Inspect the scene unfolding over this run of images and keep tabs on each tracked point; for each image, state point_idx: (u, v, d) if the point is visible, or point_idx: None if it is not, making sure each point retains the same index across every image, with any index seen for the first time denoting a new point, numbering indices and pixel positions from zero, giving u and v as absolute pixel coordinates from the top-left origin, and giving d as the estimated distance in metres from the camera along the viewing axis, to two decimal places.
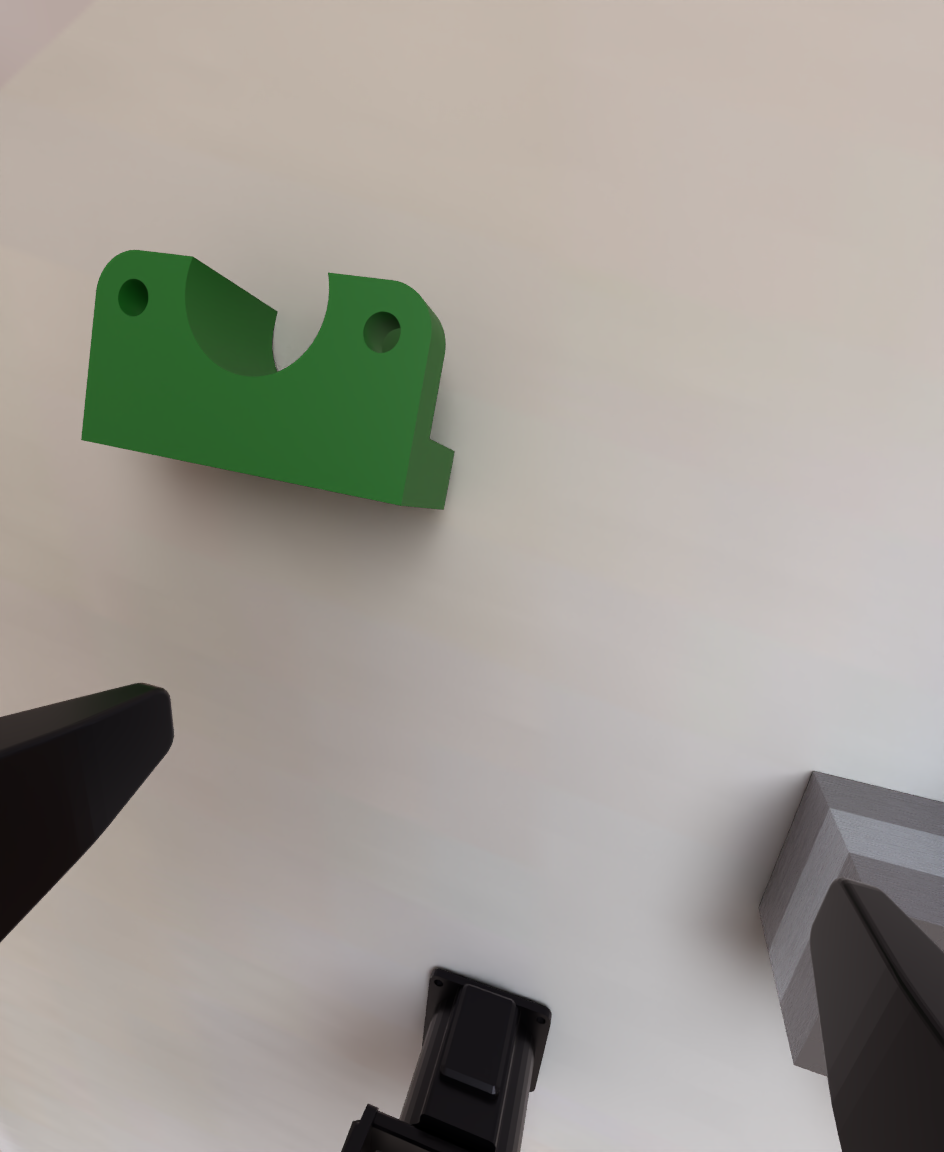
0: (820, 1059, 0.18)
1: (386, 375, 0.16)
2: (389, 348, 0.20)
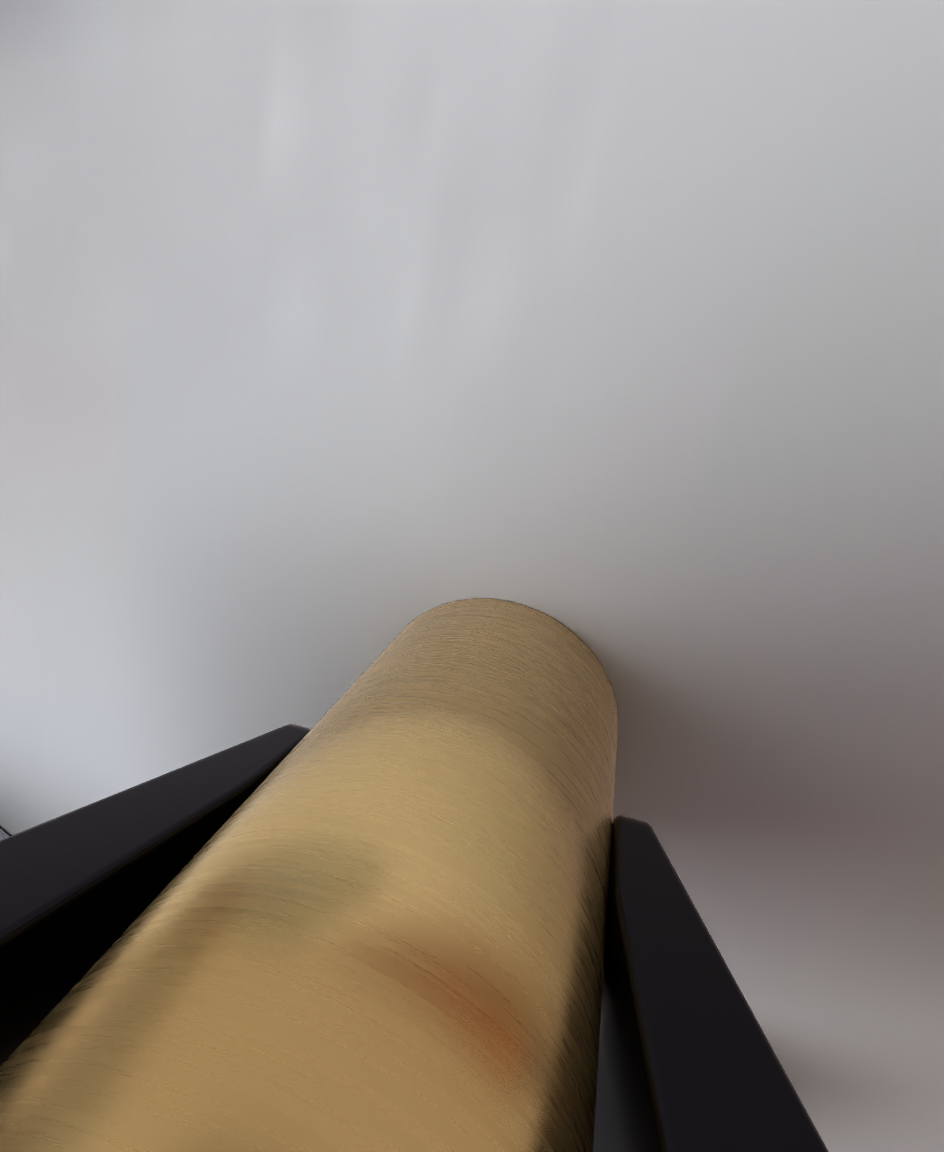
0: None
1: None
2: None
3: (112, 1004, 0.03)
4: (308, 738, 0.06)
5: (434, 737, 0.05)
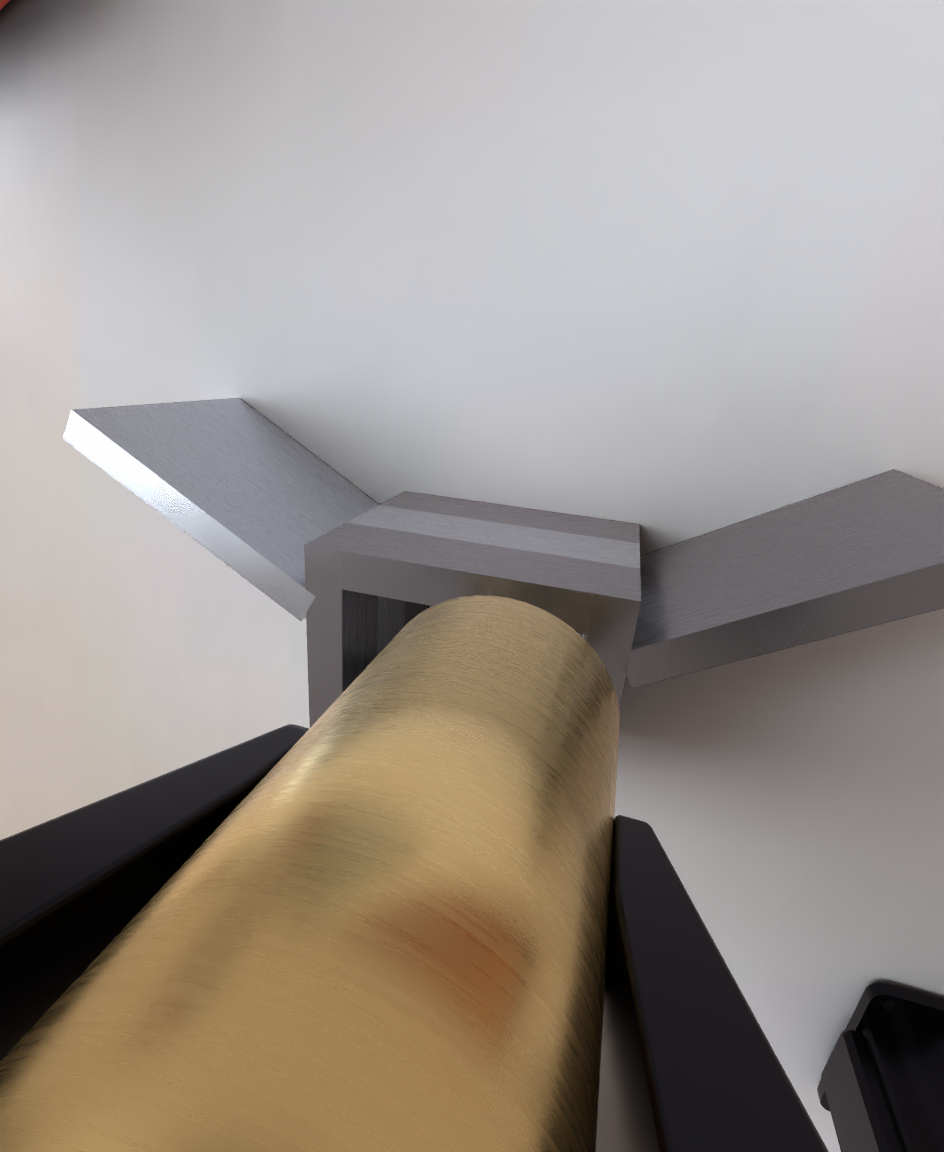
0: None
1: None
2: None
3: (112, 999, 0.03)
4: (309, 734, 0.06)
5: (436, 733, 0.05)
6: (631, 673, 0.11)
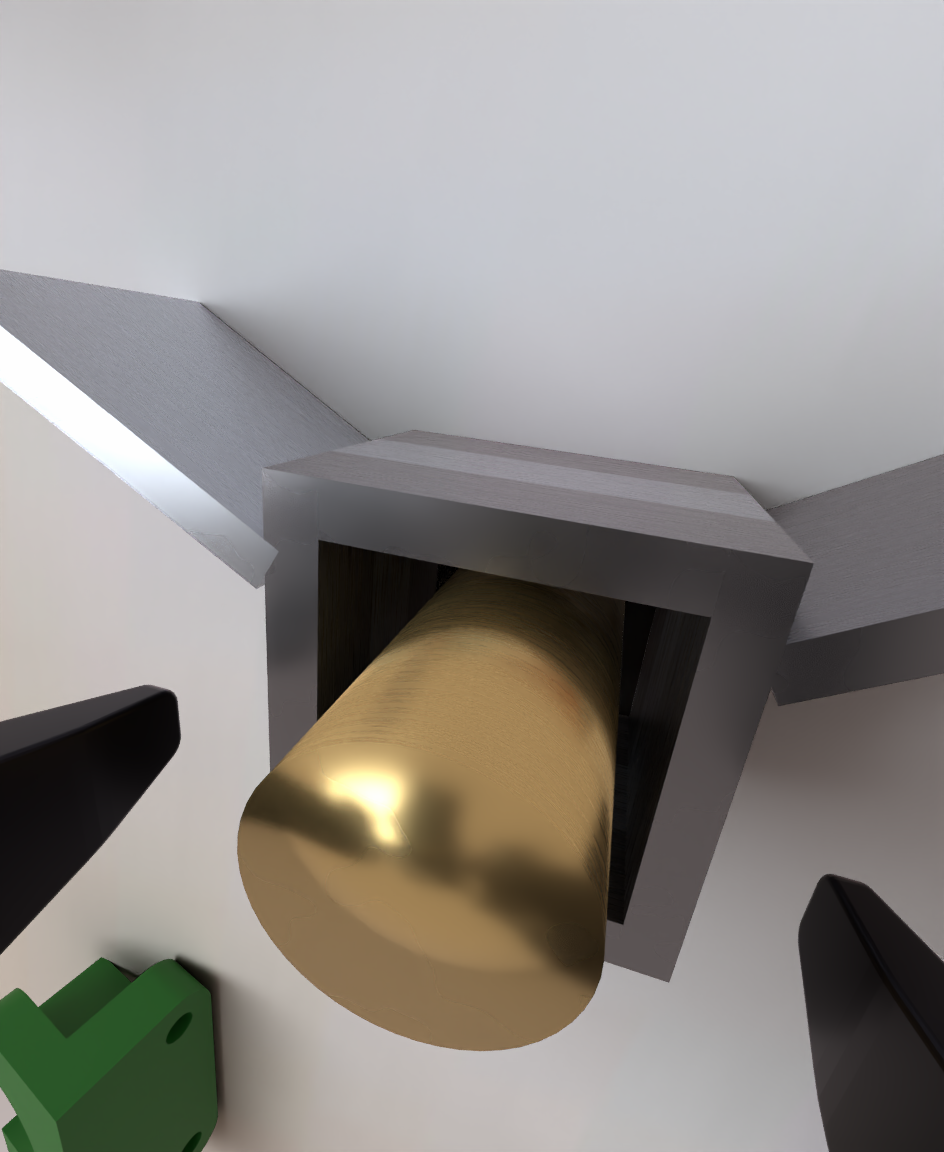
0: (635, 943, 0.09)
1: (5, 1071, 0.20)
2: (95, 984, 0.24)
3: (424, 629, 0.08)
4: (453, 577, 0.11)
5: None
6: (781, 682, 0.07)
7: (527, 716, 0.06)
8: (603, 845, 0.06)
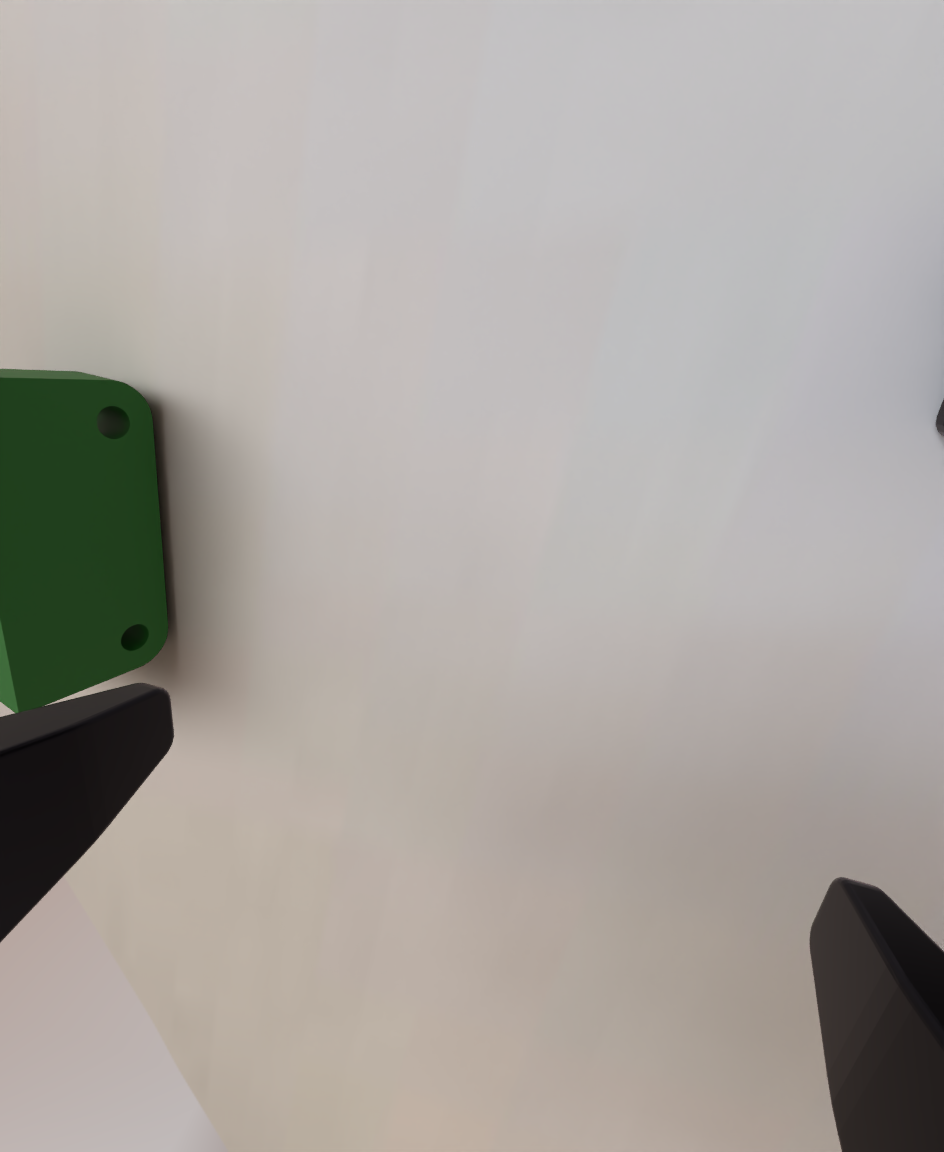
0: None
1: None
2: None
3: None
4: None
5: None
6: None
7: None
8: None
